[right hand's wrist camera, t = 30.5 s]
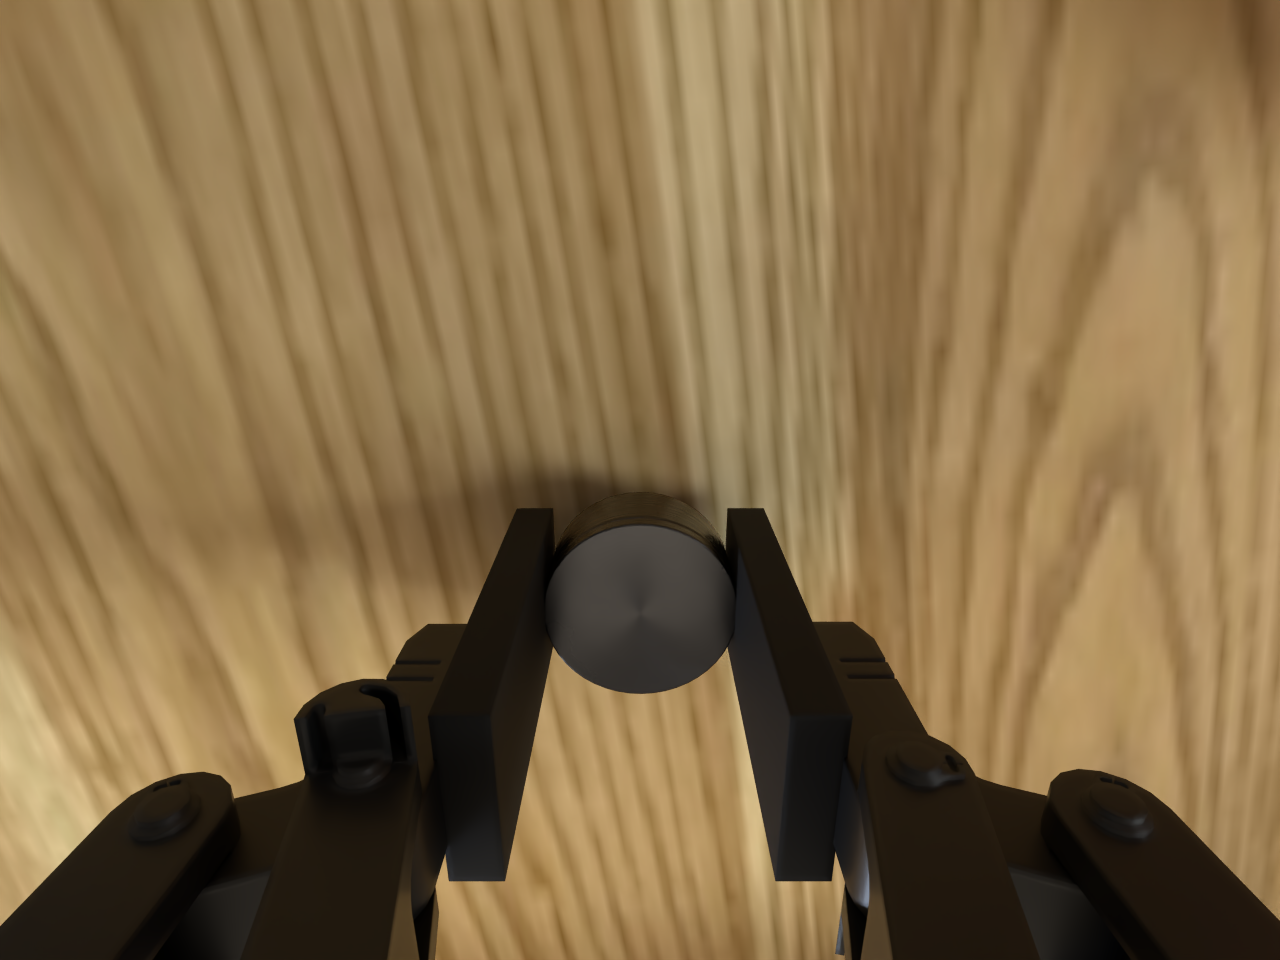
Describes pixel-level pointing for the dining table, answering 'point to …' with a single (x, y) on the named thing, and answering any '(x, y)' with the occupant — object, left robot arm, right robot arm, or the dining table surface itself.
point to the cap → (640, 594)
